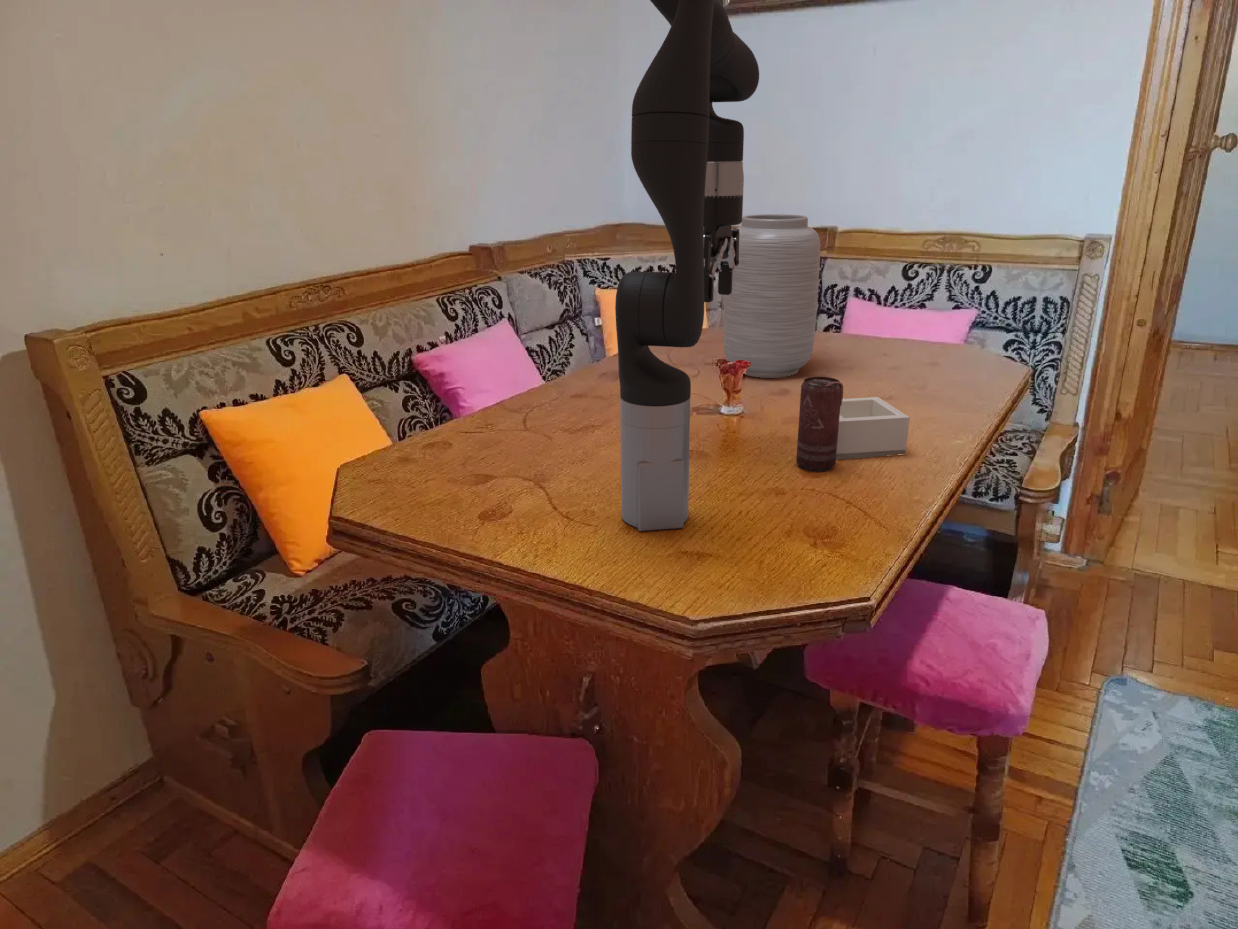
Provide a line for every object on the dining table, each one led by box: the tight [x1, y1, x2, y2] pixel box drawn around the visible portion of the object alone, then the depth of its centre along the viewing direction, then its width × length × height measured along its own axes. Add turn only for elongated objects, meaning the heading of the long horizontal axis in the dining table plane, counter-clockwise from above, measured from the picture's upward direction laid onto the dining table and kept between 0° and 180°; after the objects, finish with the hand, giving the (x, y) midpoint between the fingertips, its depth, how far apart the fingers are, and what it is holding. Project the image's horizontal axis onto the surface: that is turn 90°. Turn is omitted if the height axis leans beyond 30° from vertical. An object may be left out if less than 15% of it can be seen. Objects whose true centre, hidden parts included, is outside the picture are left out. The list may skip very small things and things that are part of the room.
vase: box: [722, 213, 821, 379], centre depth 186 cm, size 20×20×34 cm
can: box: [795, 376, 844, 473], centre depth 132 cm, size 6×6×14 cm
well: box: [836, 396, 911, 461], centre depth 142 cm, size 12×12×6 cm
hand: (715, 297), depth 136 cm, fingers open, 8 cm apart
